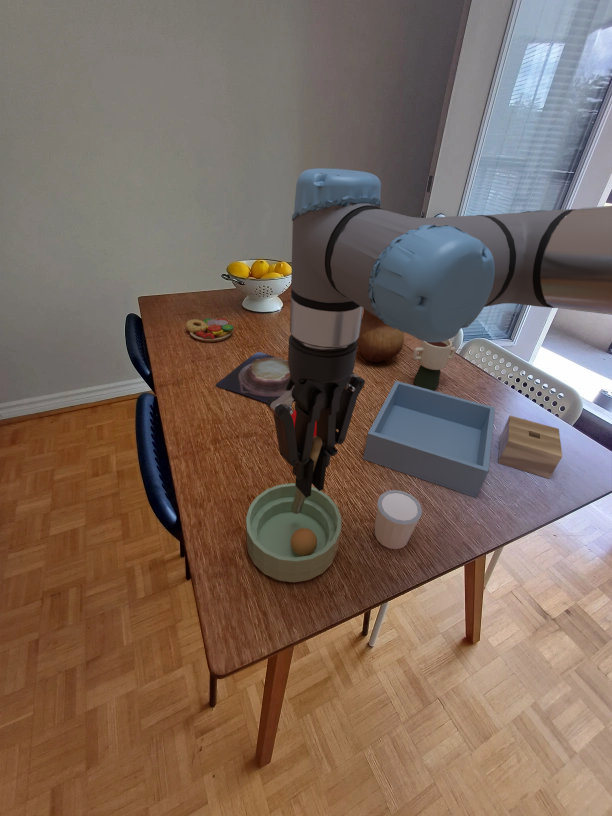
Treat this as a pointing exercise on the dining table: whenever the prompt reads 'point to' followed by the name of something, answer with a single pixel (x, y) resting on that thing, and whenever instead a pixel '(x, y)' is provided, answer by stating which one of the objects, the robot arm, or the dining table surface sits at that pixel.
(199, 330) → the toy food set
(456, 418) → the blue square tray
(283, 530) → the bowl
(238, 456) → the dining table surface
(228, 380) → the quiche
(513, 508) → the dining table surface
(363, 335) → the butternut squash
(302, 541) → the dough ball
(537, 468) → the utensil block
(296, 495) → the stirring stick
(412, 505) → the white cup
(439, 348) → the character mug
